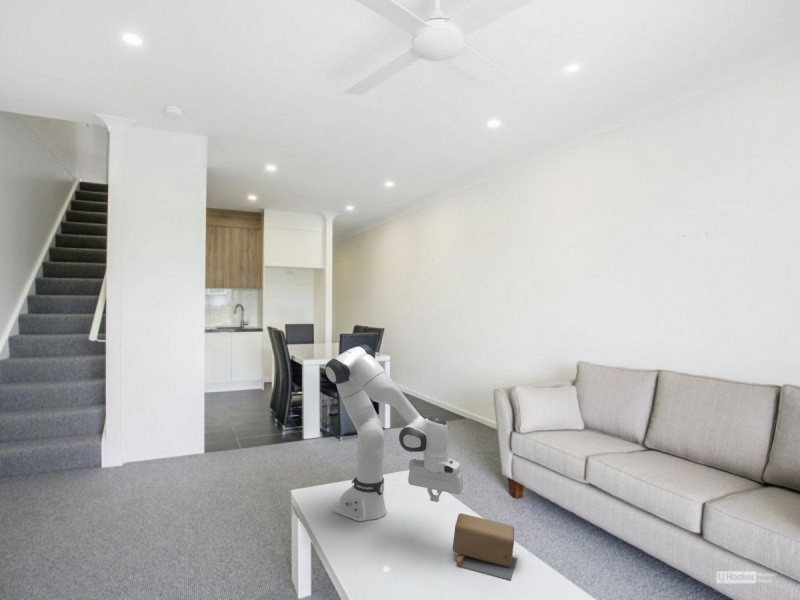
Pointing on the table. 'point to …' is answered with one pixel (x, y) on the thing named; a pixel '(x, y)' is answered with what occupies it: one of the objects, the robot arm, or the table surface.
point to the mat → (486, 567)
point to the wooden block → (484, 539)
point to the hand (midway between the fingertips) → (434, 500)
